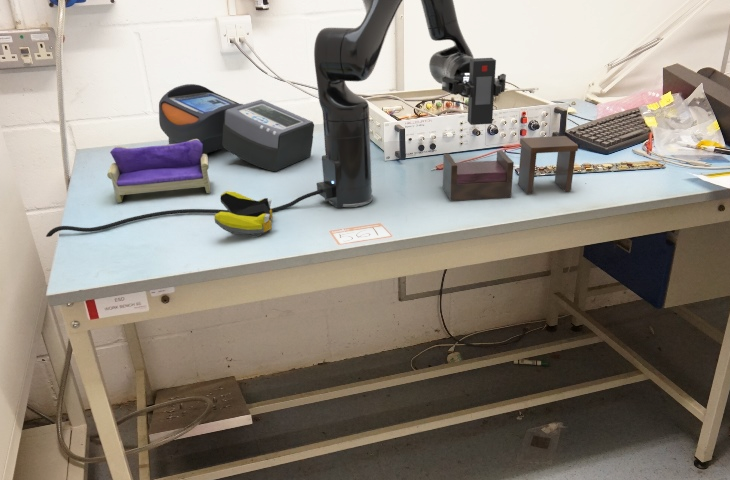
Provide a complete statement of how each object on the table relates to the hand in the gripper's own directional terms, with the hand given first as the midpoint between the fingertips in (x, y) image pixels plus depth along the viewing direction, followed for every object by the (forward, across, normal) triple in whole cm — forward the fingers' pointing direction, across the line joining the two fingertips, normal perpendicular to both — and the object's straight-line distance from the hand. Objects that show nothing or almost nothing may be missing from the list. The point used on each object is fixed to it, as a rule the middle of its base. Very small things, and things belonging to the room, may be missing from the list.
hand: (484, 91), depth 127 cm
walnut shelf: (-3, +15, +21) cm, 26 cm away
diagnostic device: (-42, -54, +22) cm, 71 cm away
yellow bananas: (+10, -48, +21) cm, 54 cm away
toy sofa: (-14, -68, +21) cm, 73 cm away
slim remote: (-3, 0, +7) cm, 7 cm away
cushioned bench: (-3, 0, +21) cm, 21 cm away
